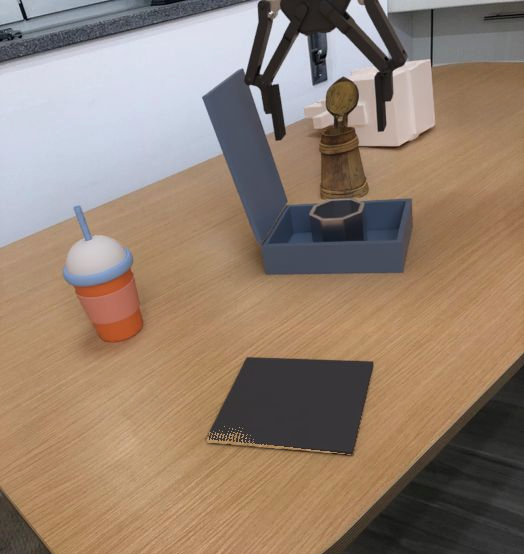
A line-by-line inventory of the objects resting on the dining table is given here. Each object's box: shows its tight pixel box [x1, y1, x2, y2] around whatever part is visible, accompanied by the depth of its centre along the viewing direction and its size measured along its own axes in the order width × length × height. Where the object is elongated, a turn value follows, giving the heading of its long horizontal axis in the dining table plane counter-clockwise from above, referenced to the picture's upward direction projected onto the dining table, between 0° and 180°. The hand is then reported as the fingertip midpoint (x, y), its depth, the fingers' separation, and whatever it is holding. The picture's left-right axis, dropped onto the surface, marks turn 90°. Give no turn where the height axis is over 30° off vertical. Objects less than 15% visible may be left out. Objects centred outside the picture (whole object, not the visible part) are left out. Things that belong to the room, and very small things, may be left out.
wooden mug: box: [318, 76, 369, 200], centre depth 107 cm, size 9×14×18 cm, turn 164°
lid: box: [201, 67, 289, 244], centre depth 85 cm, size 20×15×1 cm
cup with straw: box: [62, 205, 144, 343], centre depth 78 cm, size 9×9×18 cm
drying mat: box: [205, 356, 375, 455], centre depth 64 cm, size 15×14×1 cm
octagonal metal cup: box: [309, 198, 368, 242], centre depth 88 cm, size 8×8×6 cm
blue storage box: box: [260, 197, 414, 276], centre depth 89 cm, size 20×15×5 cm
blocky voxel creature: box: [303, 58, 436, 147], centre depth 132 cm, size 15×25×28 cm
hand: (330, 133), depth 79 cm, fingers open, 13 cm apart
